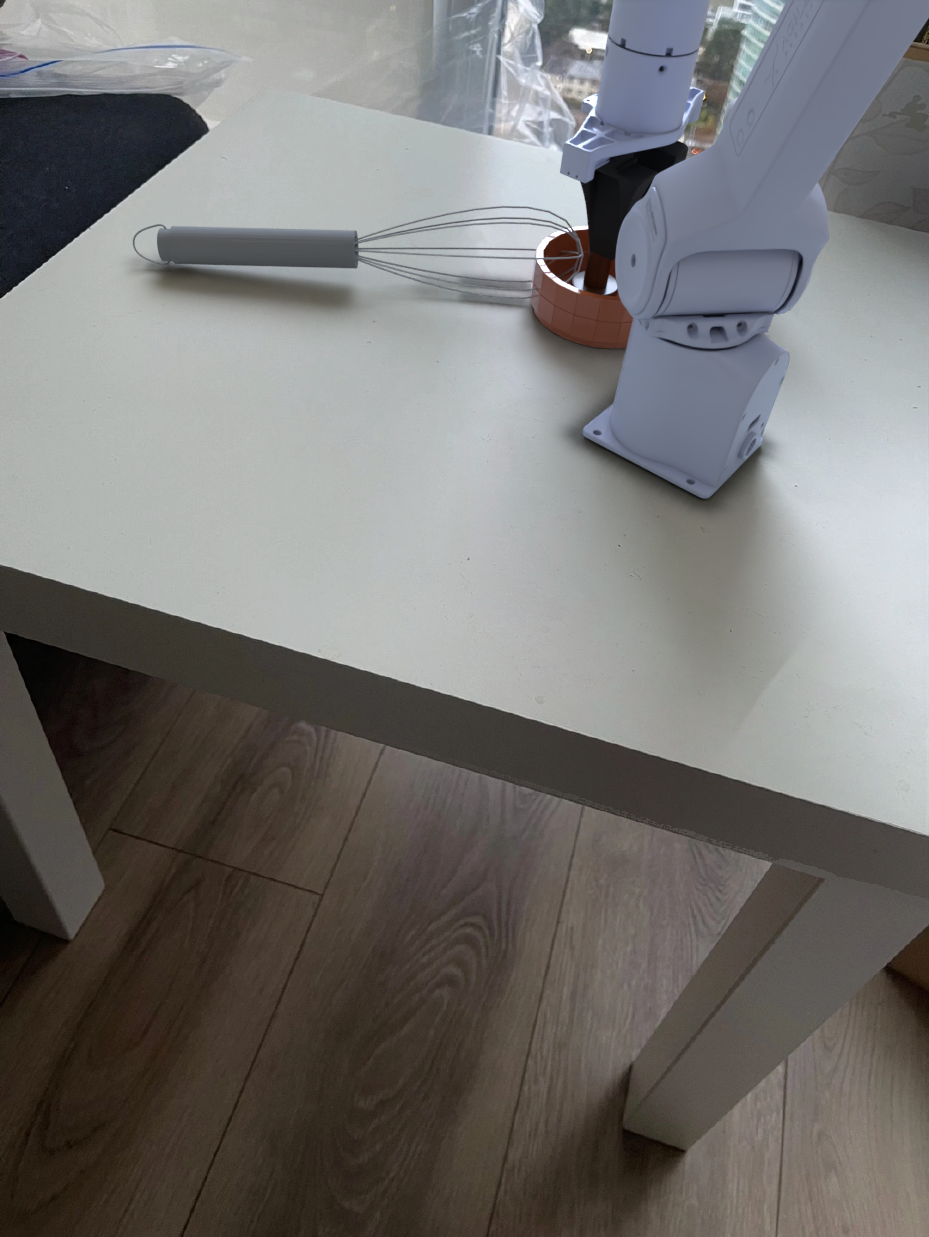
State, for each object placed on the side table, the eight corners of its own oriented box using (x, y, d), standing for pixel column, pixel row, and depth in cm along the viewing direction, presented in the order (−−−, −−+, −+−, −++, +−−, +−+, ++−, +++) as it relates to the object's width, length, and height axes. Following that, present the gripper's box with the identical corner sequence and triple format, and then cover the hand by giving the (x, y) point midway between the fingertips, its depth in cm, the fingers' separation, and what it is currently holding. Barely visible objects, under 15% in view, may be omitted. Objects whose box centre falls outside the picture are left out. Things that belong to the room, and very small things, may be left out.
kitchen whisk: (145, 239, 74) (130, 157, 70) (573, 278, 76) (587, 200, 71) (124, 280, 70) (107, 196, 66) (577, 320, 72) (592, 240, 67)
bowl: (695, 310, 74) (708, 262, 71) (621, 368, 68) (632, 319, 65) (580, 259, 78) (588, 211, 75) (501, 310, 72) (506, 260, 69)
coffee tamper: (618, 307, 71) (642, 189, 64) (570, 302, 71) (589, 184, 64) (616, 282, 73) (639, 166, 67) (569, 278, 73) (588, 162, 67)
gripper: (658, -1, 64) (619, 197, 74) (533, 49, 56) (508, 263, 67) (751, 28, 62) (697, 229, 72) (634, 85, 54) (592, 302, 64)
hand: (612, 248), depth 69 cm, fingers closed on coffee tamper, 2 cm apart
